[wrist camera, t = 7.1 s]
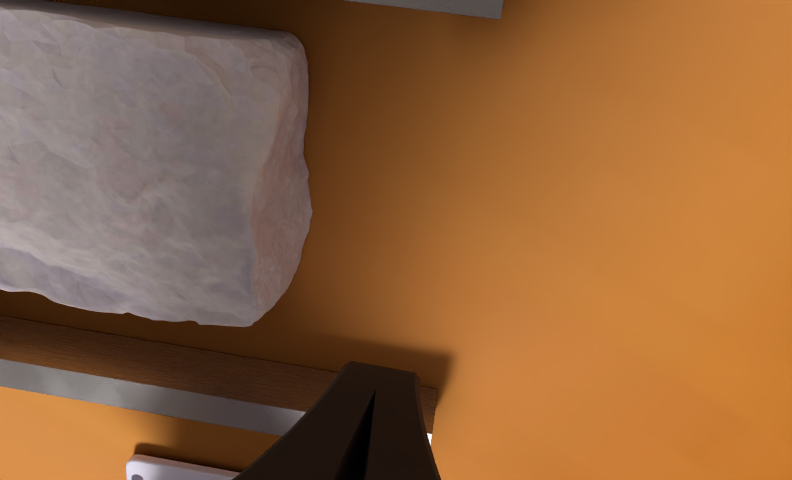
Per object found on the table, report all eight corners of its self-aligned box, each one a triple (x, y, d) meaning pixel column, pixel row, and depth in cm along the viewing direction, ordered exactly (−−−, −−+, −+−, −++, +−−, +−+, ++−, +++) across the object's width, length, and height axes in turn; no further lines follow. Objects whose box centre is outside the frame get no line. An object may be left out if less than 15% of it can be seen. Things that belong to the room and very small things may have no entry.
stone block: (325, 274, 24) (322, 1, 18) (283, 366, 20) (263, 59, 14) (36, 226, 25) (-52, -41, 20) (-54, 304, 22) (-197, 1, 16)
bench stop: (433, 415, 24) (423, 498, 20) (-94, 325, 25) (-191, 386, 22) (506, -35, 17) (511, -33, 14) (-206, -118, 19) (-371, -136, 15)
